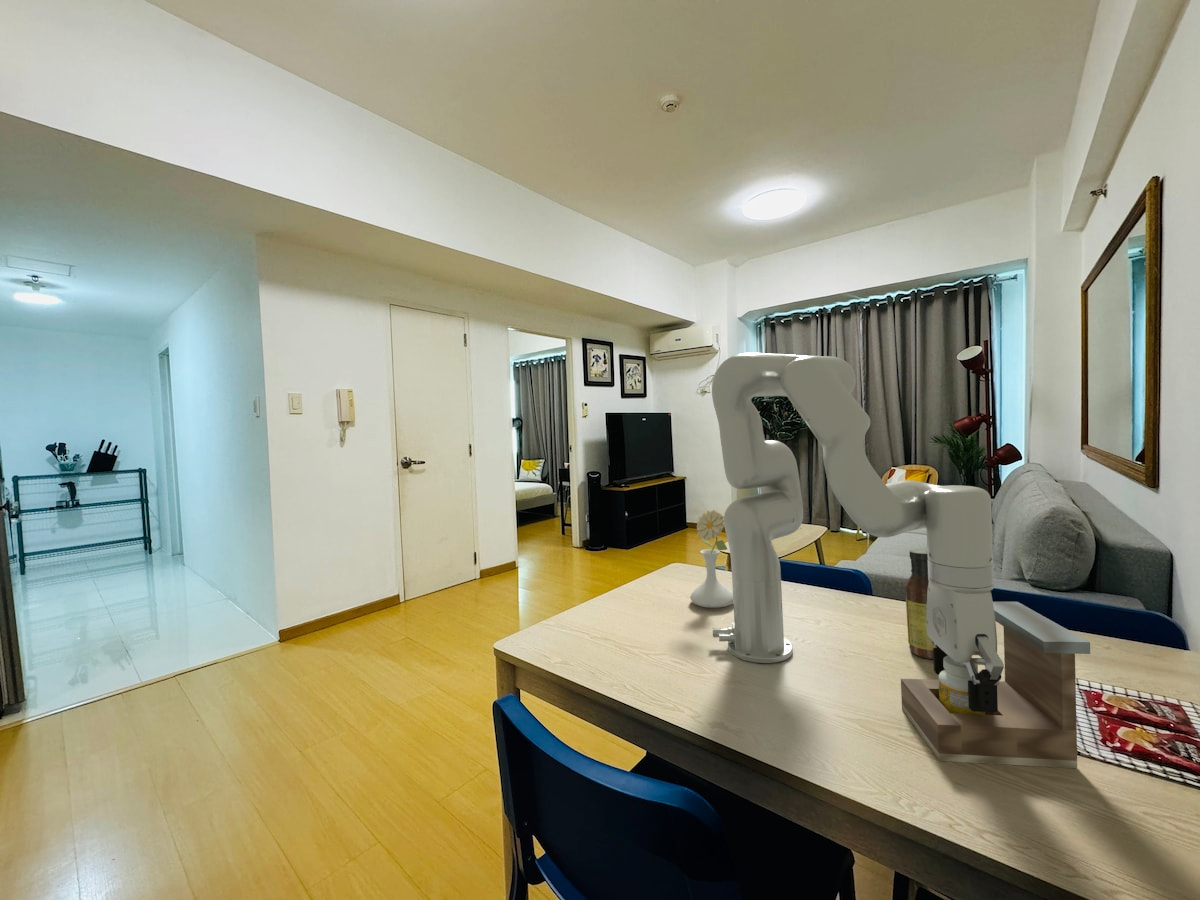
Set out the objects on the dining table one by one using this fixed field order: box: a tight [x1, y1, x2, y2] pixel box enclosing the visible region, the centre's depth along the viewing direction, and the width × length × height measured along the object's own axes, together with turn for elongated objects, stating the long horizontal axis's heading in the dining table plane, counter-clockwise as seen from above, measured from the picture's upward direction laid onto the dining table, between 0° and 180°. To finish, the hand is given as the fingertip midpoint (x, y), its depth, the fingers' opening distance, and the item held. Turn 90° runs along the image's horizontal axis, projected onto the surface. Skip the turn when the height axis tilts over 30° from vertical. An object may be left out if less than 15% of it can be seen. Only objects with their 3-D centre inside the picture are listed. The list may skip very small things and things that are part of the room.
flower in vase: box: [689, 509, 734, 609], centre depth 127 cm, size 13×11×25 cm
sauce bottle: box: [905, 548, 937, 660], centre depth 95 cm, size 7×6×20 cm
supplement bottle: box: [938, 656, 985, 715], centre depth 71 cm, size 5×5×10 cm
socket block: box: [900, 601, 1091, 769], centre depth 70 cm, size 17×14×17 cm
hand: (963, 691), depth 71 cm, fingers open, 9 cm apart
